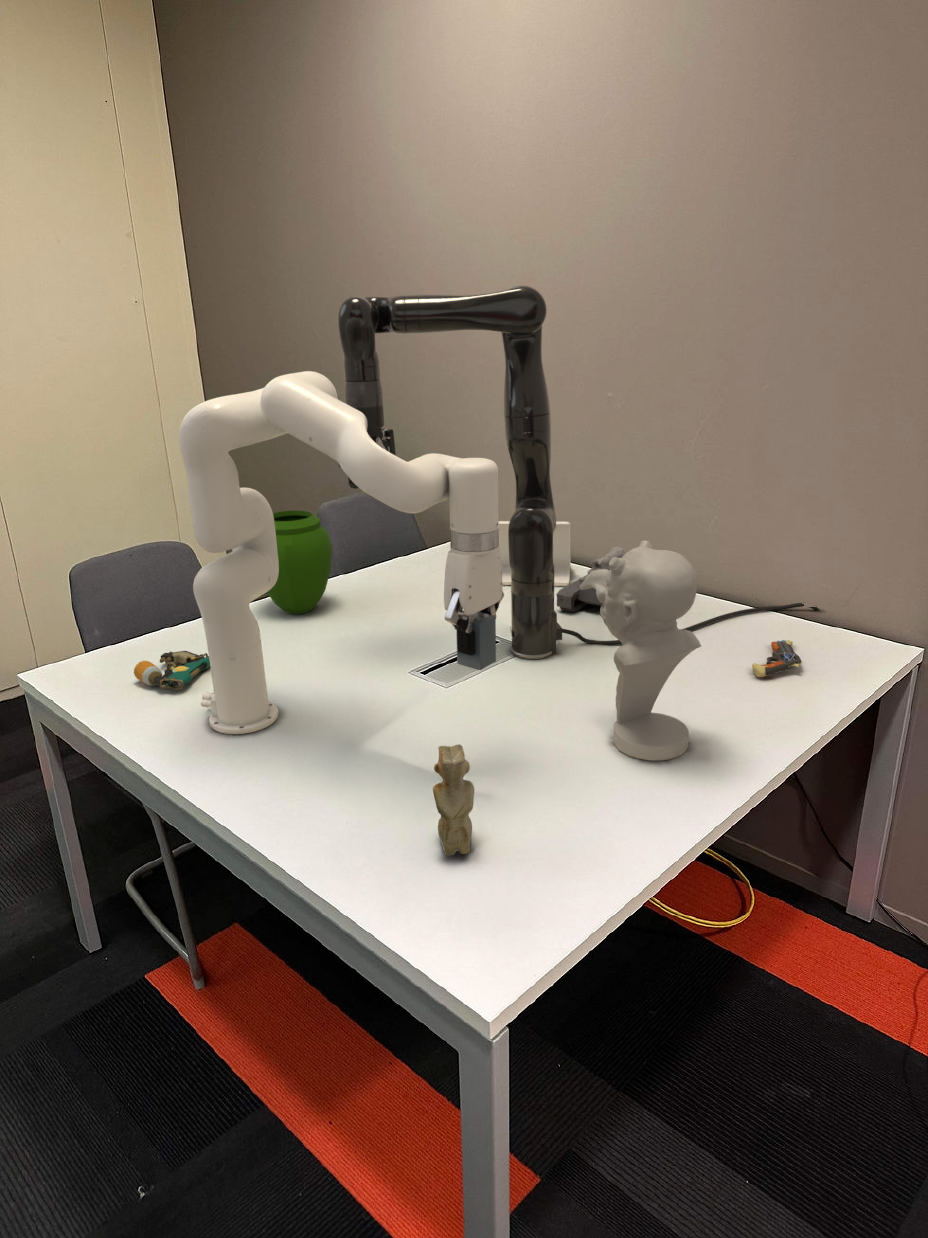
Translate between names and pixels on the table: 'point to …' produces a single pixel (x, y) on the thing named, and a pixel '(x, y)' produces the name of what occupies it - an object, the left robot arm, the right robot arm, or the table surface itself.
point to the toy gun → (778, 659)
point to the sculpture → (454, 800)
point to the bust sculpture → (646, 643)
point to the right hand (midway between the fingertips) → (369, 484)
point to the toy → (576, 598)
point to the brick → (481, 642)
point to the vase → (300, 561)
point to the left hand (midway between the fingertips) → (476, 647)
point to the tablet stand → (559, 553)
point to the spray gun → (172, 669)
